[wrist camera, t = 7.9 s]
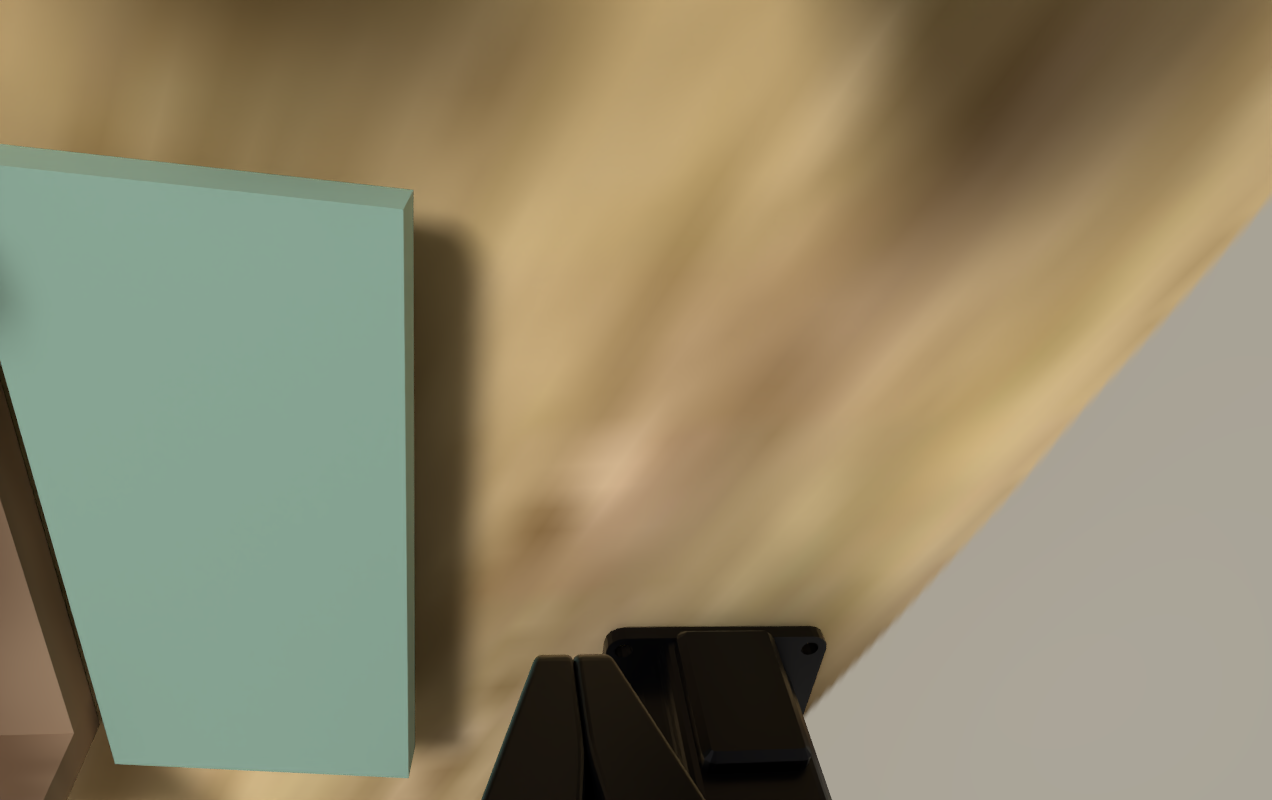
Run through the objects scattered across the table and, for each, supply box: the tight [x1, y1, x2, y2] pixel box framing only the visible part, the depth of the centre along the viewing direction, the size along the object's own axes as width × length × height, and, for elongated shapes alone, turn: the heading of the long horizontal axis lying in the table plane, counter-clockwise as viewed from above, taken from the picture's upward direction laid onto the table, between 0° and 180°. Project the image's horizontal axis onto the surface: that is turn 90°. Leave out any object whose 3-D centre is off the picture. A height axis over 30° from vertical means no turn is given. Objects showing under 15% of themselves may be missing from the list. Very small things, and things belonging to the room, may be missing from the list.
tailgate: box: [0, 144, 415, 778], centre depth 20 cm, size 1×16×8 cm
